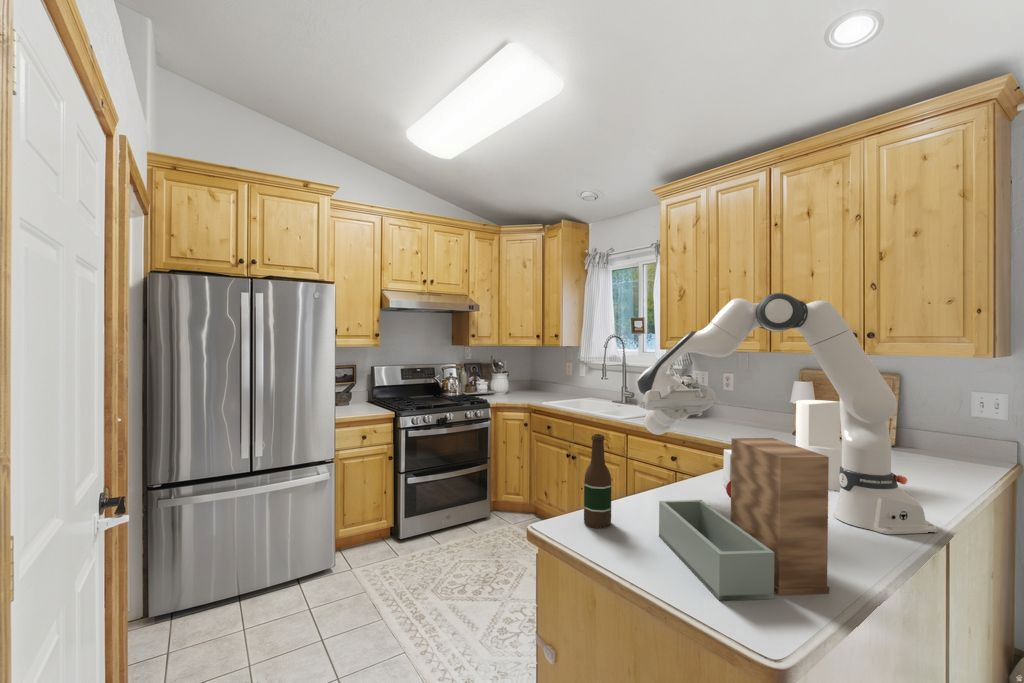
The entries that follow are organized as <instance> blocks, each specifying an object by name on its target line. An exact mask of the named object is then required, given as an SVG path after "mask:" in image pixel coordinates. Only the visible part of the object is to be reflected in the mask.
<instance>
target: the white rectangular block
mask: <svg viewBox="0 0 1024 683" xmlns="http://www.w3.org/2000/svg"><path fill="white" fill-rule="evenodd" d="M795 404H796V405H795V406H796V407H795V408H796V409H795V410H796V411H795V446H798V447H801V448H804V449H807V450H810V451H813V452H816V453H819V454H822V455H825V456H828V457H829V474H828V491H832V490H836V491H837V492H840V482H839V473H840V466H842V441H841V439H840V438H841V420H840V401H837V400H836V401H835V400H834V401H833V400H825V399H824V400H822V399H800V400H799V399H798V400H796V401H795ZM836 491H835V492H836Z"/></svg>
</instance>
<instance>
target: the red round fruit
mask: <svg viewBox="0 0 1024 683" xmlns="http://www.w3.org/2000/svg"><path fill="white" fill-rule="evenodd" d="M725 491H726V495H727V497H729V498H730V499H731V481H730V482H729V483H728V484H727V486H726V488H725Z"/></svg>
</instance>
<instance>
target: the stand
mask: <svg viewBox="0 0 1024 683" xmlns="http://www.w3.org/2000/svg"><path fill="white" fill-rule="evenodd" d="M730 450H731V498H730V521H731V522H733V523H734V524H735V525H737V526H738V527H740V528H741V529H742V530H744V531H745V532H746V533H748V534H749V535H751V536H752V537H753V538H755V539H756V540H758V541H759V542H760V543H762V544H763V545H765V546H766V547H767V548H769V549H770V550H772V551H773V552H774V594H776V595H778V596H795V595H796V596H797V595H800V596H801V595H819V594H820V595H823V594H824V595H825V594H827V595H828V594H830V592H831V590H830V589H831V587H830V586H828V545H829V544H828V541H829V540H828V538H829V536H828V534H829V490H828V474H829V457H828V456H825V455H822V454H819V453H816V452H813V451H810V450H807V449H804V448H801V447H798V446H796V444H792V443H788V442H787V441H783V440H780V439H776V438H774V437H740V438H739V437H738V438H737V437H731V448H730Z"/></svg>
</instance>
